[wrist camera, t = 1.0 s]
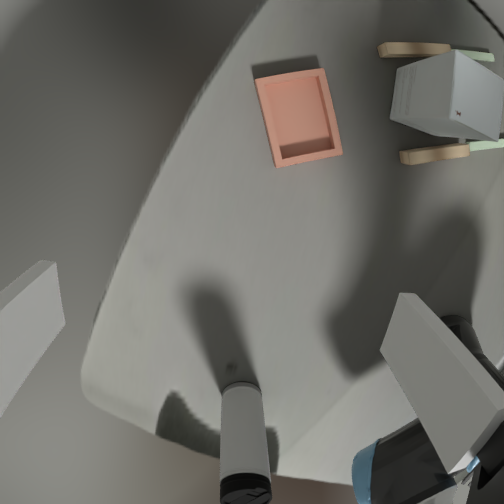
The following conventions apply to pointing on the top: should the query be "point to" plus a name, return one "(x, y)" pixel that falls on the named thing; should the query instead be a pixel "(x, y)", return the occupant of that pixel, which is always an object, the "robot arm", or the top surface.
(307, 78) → the pit tray
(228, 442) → the travel mug
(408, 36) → the top surface
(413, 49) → the channel
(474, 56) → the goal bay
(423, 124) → the supplement box
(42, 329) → the robot arm
